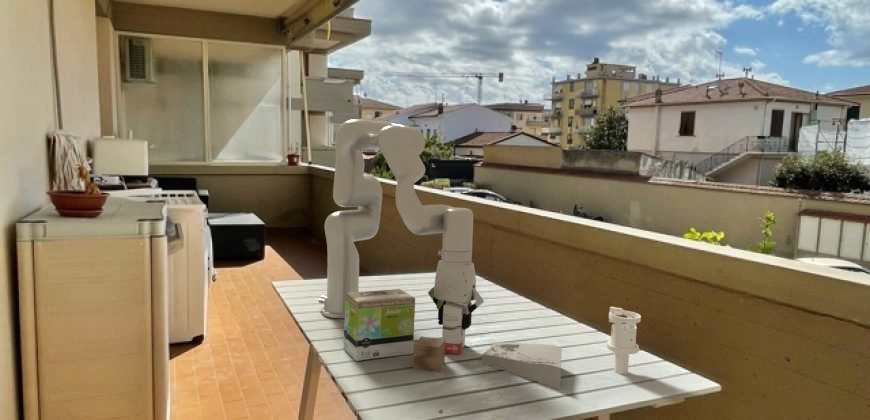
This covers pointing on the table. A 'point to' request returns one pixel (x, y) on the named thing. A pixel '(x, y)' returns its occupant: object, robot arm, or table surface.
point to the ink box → (453, 327)
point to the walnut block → (429, 354)
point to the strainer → (623, 337)
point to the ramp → (527, 361)
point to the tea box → (379, 324)
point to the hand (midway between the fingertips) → (454, 325)
